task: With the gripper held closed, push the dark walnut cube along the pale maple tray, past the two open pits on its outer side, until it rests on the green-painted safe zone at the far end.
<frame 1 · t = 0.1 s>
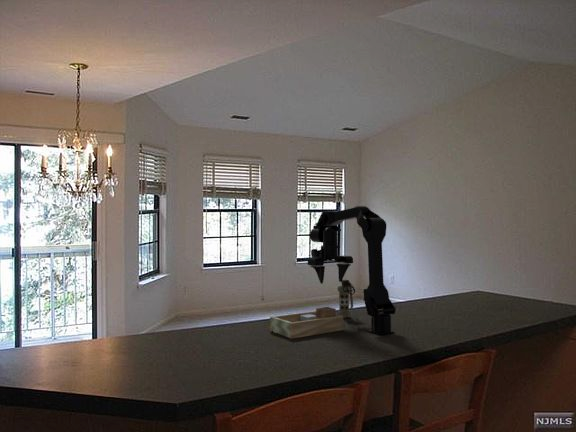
hand: (331, 282, 200), 15 cm above the bar counter, fingers open, 9 cm apart
grenade model: (347, 317, 204), on the bar counter
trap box: (306, 330, 181), on the bar counter
walnut block: (325, 322, 182), point 2 cm above the bar counter, touching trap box
trapped block: (309, 328, 186), resting in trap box
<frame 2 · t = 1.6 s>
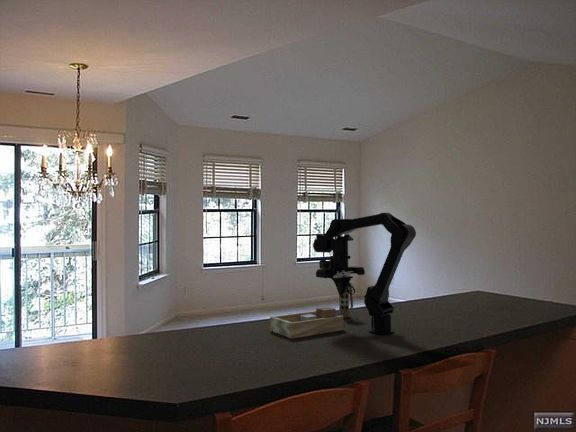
hand: (341, 295, 186), 11 cm above the bar counter, fingers closed
nothing on the bar counter moved.
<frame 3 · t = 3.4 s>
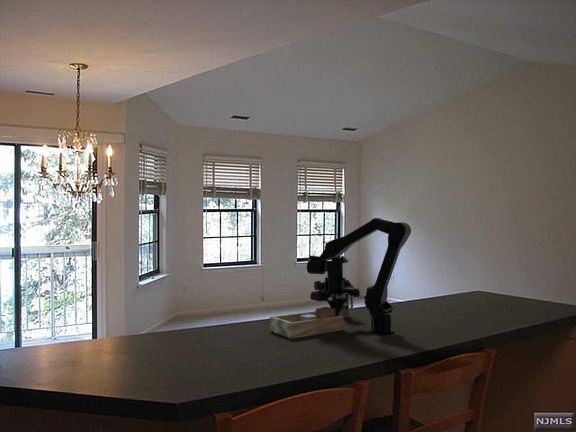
hand: (335, 317, 185), 4 cm above the bar counter, fingers closed
walnut block: (325, 322, 182), point 3 cm above the bar counter, touching gripper, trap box
everything else where it was.
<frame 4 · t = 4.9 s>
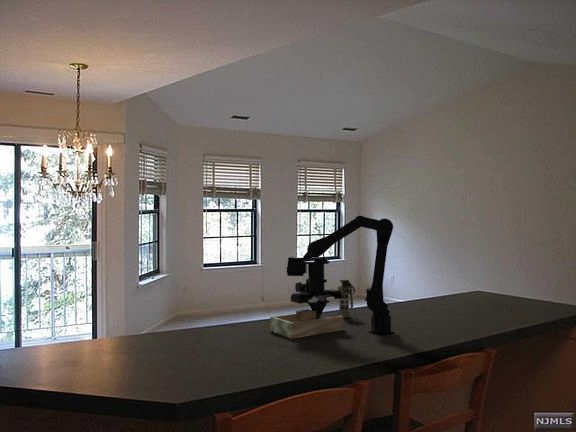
hand: (317, 320, 180), 4 cm above the bar counter, fingers closed
walnut block: (306, 325, 178), point 3 cm above the bar counter, touching gripper
everything else where it was.
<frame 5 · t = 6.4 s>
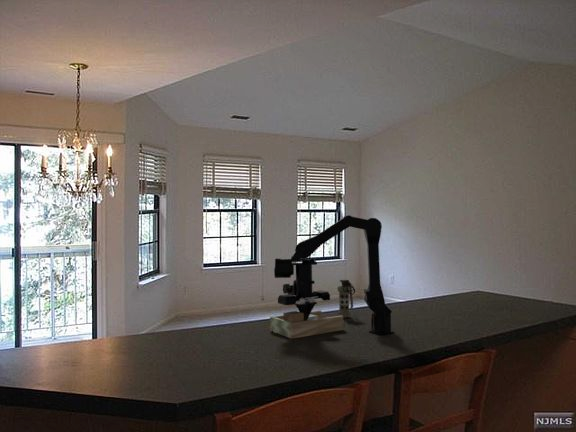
hand: (304, 322, 178), 4 cm above the bar counter, fingers closed
walnut block: (293, 327, 175), point 2 cm above the bar counter, touching gripper, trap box
everything else where it was.
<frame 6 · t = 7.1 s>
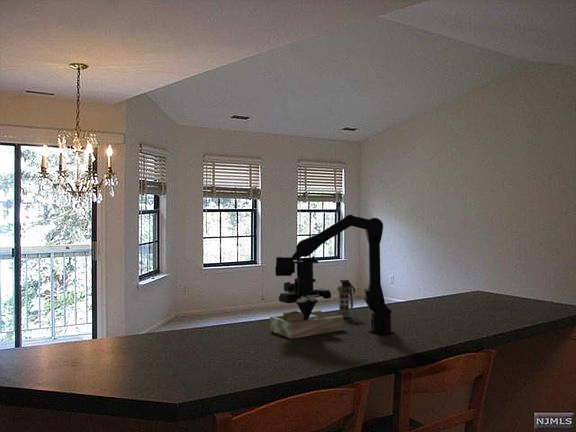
hand: (305, 320, 178), 4 cm above the bar counter, fingers closed
walnut block: (293, 327, 175), point 2 cm above the bar counter, touching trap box
everything else where it was.
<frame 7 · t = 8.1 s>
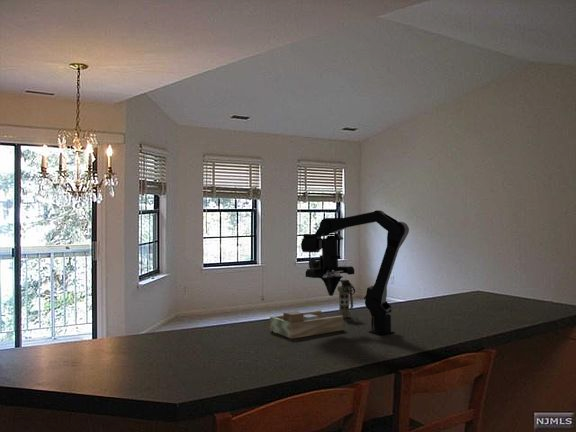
hand: (330, 295, 184), 12 cm above the bar counter, fingers closed
nothing on the bar counter moved.
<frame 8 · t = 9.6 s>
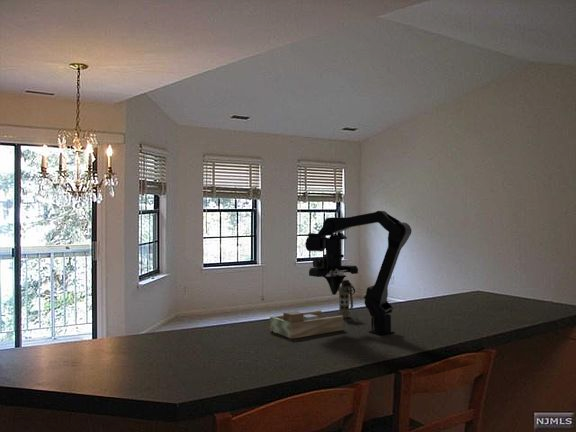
hand: (334, 294, 186), 12 cm above the bar counter, fingers closed
nothing on the bar counter moved.
at the end: walnut block 0.5 cm from the target spot on the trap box, point 2.5 cm above the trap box's base; walnut block tilted 0° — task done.
